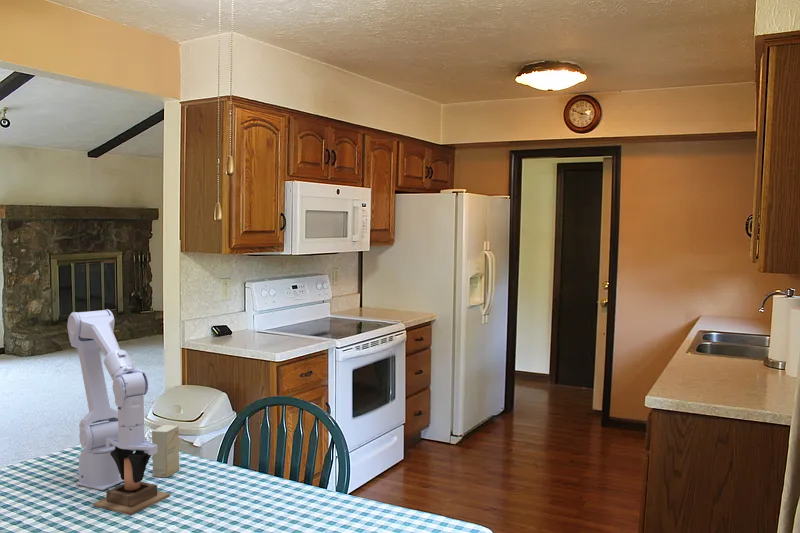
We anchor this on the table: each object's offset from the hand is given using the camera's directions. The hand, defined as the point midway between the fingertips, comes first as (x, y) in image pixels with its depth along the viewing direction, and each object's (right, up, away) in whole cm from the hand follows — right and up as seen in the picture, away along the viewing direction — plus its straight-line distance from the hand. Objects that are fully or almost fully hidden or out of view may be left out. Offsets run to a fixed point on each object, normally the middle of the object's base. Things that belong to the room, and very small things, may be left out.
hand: (132, 479), depth 157 cm
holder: (0, -5, 0) cm, 5 cm away
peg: (0, -2, 0) cm, 2 cm away
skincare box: (+2, -4, +18) cm, 19 cm away
